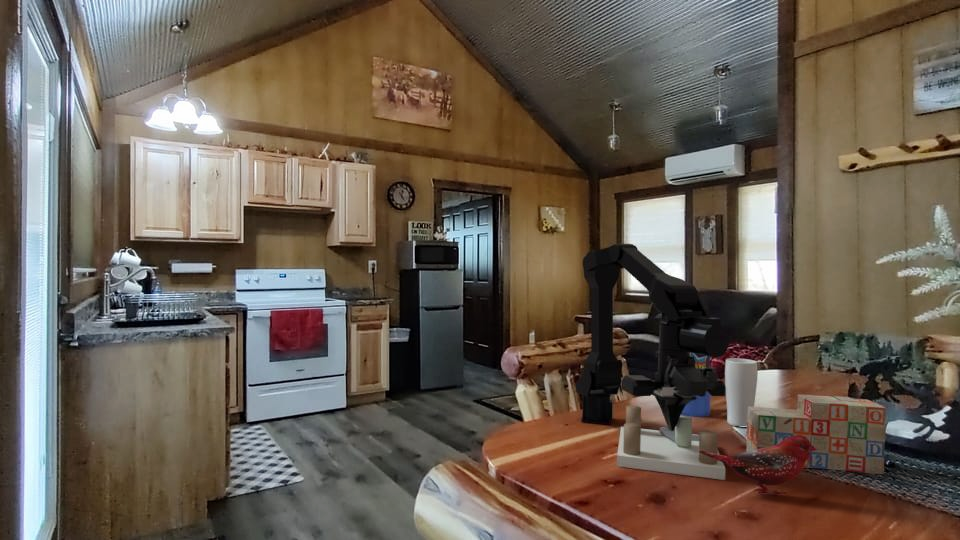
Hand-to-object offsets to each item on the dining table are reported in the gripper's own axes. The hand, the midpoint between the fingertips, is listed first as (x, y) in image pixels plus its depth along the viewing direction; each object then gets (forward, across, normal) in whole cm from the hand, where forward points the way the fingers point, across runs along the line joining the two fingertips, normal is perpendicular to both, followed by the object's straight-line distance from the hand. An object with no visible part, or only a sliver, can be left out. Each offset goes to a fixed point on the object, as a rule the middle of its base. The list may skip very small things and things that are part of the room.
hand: (671, 430), depth 101 cm
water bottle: (+5, +22, +29) cm, 37 cm away
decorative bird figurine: (+5, +6, -16) cm, 18 cm away
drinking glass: (+5, +27, +18) cm, 33 cm away
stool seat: (+5, 0, +1) cm, 5 cm away
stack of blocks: (+5, +26, -5) cm, 27 cm away
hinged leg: (+3, +3, +4) cm, 5 cm away
